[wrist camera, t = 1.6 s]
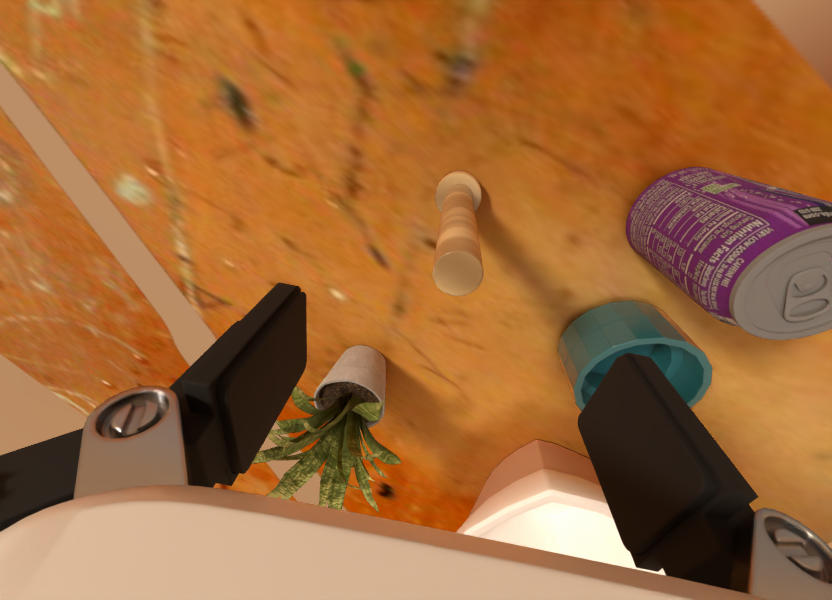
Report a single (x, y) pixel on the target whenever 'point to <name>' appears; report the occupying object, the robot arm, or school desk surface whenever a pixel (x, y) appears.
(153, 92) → the school desk surface
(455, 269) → the muddler
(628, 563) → the bowl
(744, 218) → the beverage can
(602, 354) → the mixing bowl
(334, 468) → the house plant
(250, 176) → the school desk surface
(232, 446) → the robot arm
